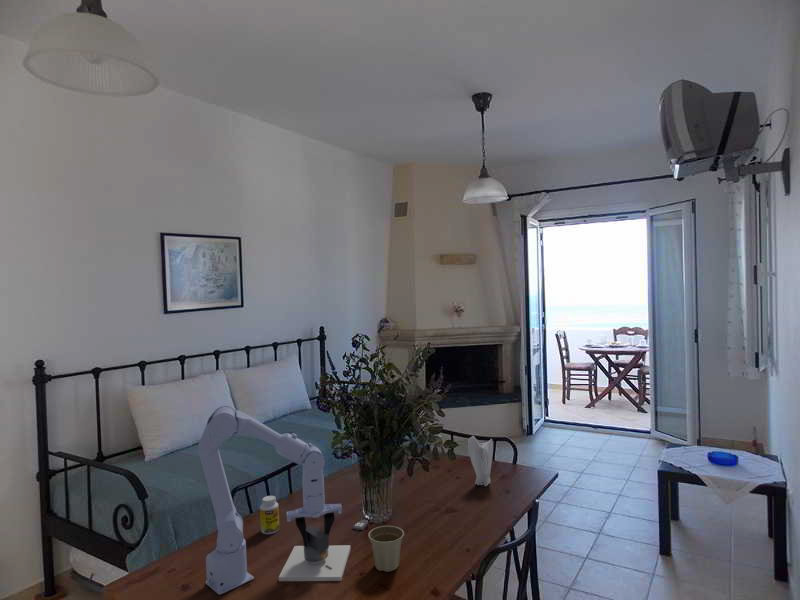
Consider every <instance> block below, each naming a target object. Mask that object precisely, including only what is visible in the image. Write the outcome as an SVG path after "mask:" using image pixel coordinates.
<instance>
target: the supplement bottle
mask: <svg viewBox="0 0 800 600" xmlns="http://www.w3.org/2000/svg"><path fill="white" fill-rule="evenodd" d="M261 501H262V504H260V507H259V512H260V513H259V515H260V516H259V517H260V519H259V520H260V521H259V522H260V532H261V534H263V535H273V534H275V533H277V532H278V531H279V529H280V513H279V511H280V509H279V503H278V502H277V499H276V496H275V495H267V496H264V497H263V498H262V499H261Z"/></svg>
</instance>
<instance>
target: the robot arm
mask: <svg viewBox="0 0 800 600" xmlns="http://www.w3.org/2000/svg"><path fill="white" fill-rule="evenodd" d="M204 427H205V428H204V429H203V432H202V435H201V437H200V440H199V442H198V447H197V451H198V452H197V453H198V456H199V459H200V463H201V466H202V470H203V474H204V478H205V482H206V485H207V488H208V492H209V496H210V499H211V500H210V501H211V503H212V507H213V510H214V515H215V523H216V528H217V538H216V545H215V546H216V548H215V549H214V550H213V551H211V552H210V553H208V554H206V557H205V572H206V581H205V585H207V586H208V587H209V588H210V589H212V590H213V591H214V592H215V593H216V594H217V595H222V594H226V593H227V592H229V591H231V590H234V589H236V588H239V587H240V586H242V585H245V584H246V583H248V582H250V581H253V580H254V579H255V576H253V575H252V574H251V573H249V572H248V565H247V563H248V561H247V541H246V539H245V538H244V520H243V517H242V516H241V515H240V514H239V513H238V512H237V508H236V506H235V504H234V502H233V497H232V494H231V490H230V489H231V488H230V486H229V483H228V478H227V475H226V472H225V471H226V470H225V468H224V464H223V461H222V457H221V452H220V448H221V446H222V445H223V443H224V442H225V441H226V440H227V439H229V438H230V437H231V436H232V435H234V433H235V432H236V436H243V435H247V434H249V435H251V436H253V437H255V438H256V439H257V438H258V439H259V440H261V441H264V442H265V443H268V444H270V445H272V446H273V447H274V449H275V452H276V454H278V455H280V456H281V457H283V458H285V459H287V460H290V461H291V462H292V463H295V464H297V465H302V477H301V479H302V480H301V486H302V503H303V504H302V505H303V506H302V507H300V508H297V509H293V510H289V511H286V522H287V523H288V522H292V521H294V520H295V525H296V527H297V529H298V530H299V532H300V535H301V538H302V542H303V541H304V542H303V546H307V539H306V527H307V524H306V519H308V518H312V519H315V518H320V517H321V516H323V525H324V526H323V527H324V528H323V532H324V533H326V534H328V538H329V536H330V532H331V529H332V526H333V525H334V522H335V514H339V515H340V514H342V513H343V506H342V503H333V504H332V503H327V504H326V499H325V495H326V494H325V477H324V476H325V475H324V467H325V465H326V461H325V457H324V454H323V453H322V451H321V449H320V448H318V447H317V445H315V444H313V443H311V442H308V443H307V442H305V441H303V440H302V439H300V438H298V436H297V434H296V433H295V432H293V433H289V432H285V433H283V434H280V433H279V432H277V431H276V430H274V429H272V428H271V427H269V426H267V425H266V424H264V423H262V422H261V421H259V420H257V419H256V418H254V417H252V416H251V415H249V414H247V413H245V412H243V411H241V410H239V409H235V408H234V407H232V406H229V405H221V406H219V407H217V408H215V410H214V411H213V412H212V413H211V415H210V416H209V417H208V418H207V422H206V425H205V426H204Z"/></svg>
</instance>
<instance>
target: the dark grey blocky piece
mask: <svg viewBox="0 0 800 600" xmlns="http://www.w3.org/2000/svg"><path fill="white" fill-rule="evenodd" d="M306 539H307V546H304V545H303V546H304V559H305V560H306V561H309V562H318V561H322V560H324V559H326V558H327V557H328V548H329V546H330V545H329V544H330V542H329V537H328V534H326V533H324V530H321V529H319V528H318V527H316V526H314V525H313V524H312V525H308V526H306ZM302 542H303V543H304V541H303V540H302Z"/></svg>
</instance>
